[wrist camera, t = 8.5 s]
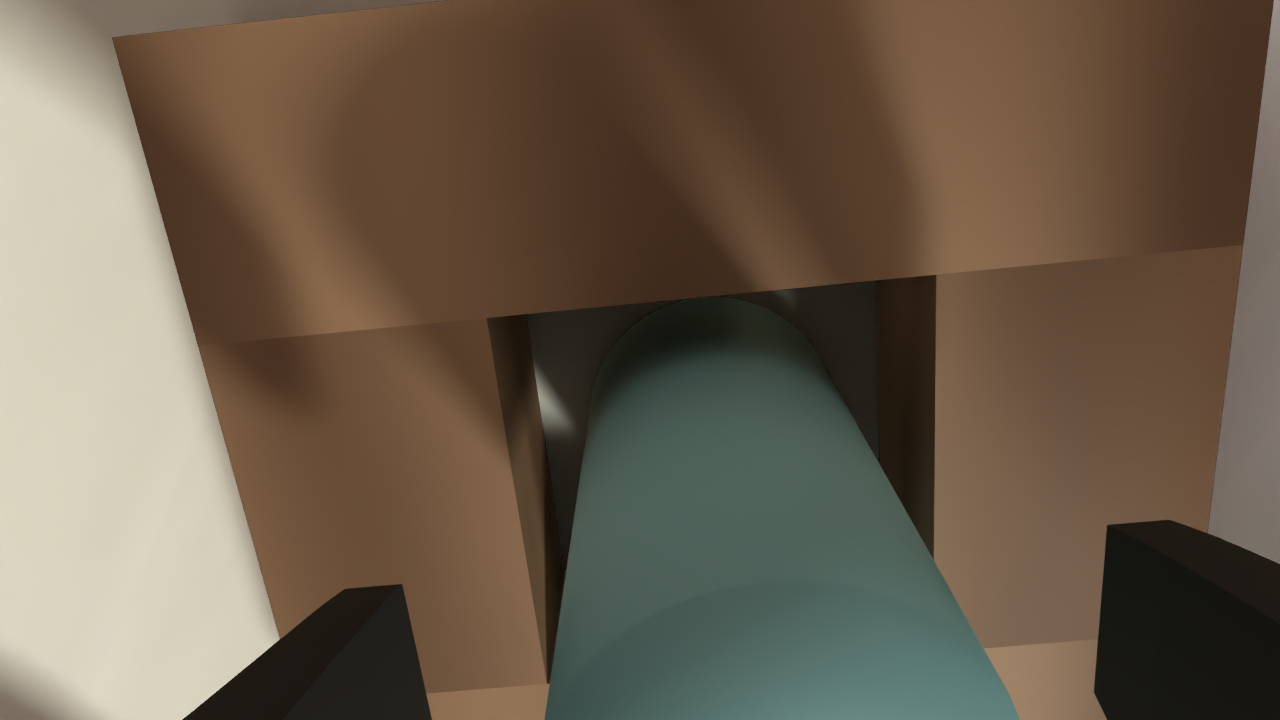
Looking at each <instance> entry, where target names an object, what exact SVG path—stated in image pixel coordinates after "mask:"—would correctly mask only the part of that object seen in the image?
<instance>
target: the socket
mask: <svg viewBox="0 0 1280 720" xmlns="http://www.w3.org/2000/svg"><path fill="white" fill-rule="evenodd" d="M1273 1H1274V0H447V1H438V2H429V3H420V4H411V5H401V6H392V7H383V8H374V9H365V10H356V11H347V12H338V13H329V14H320V15H311V16H302V17H293V18H283V19H274V20H265V21H256V22H247V23H238V24H229V25H220V26H211V27H202V28H193V29H184V30H174V31H165V32H156V33H147V34H138V35H129V36H120V37H112V40H113V43H114V47H115V50H116V54H117V58H118V61H119V65H120V68H121V72H122V75H123V79H124V83H125V86H126V90H127V93H128V97H129V100H130V104H131V108H132V111H133V115H134V118H135V122H136V126H137V129H138V133H139V136H140V140H141V143H142V147H143V151H144V154H145V158H146V161H147V165H148V168H149V172H150V176H151V179H152V183H153V186H154V190H155V193H156V197H157V201H158V204H159V208H160V211H161V215H162V218H163V222H164V226H165V229H166V233H167V236H168V240H169V243H170V247H171V251H172V254H173V258H174V261H175V265H176V269H177V272H178V276H179V279H180V283H181V286H182V290H183V294H184V297H185V301H186V304H187V308H188V311H189V315H190V319H191V322H192V326H193V329H194V333H195V336H196V340H197V344H198V347H199V351H200V354H201V358H202V361H203V365H204V369H205V372H206V376H207V379H208V383H209V386H210V390H211V394H212V397H213V401H214V404H215V408H216V411H217V415H218V419H219V422H220V426H221V429H222V433H223V437H224V440H225V444H226V447H227V451H228V454H229V458H230V462H231V465H232V469H233V472H234V476H235V479H236V483H237V487H238V490H239V494H240V497H241V501H242V504H243V508H244V512H245V515H246V519H247V522H248V526H249V529H250V533H251V537H252V540H253V544H254V547H255V551H256V554H257V558H258V562H259V565H260V569H261V572H262V576H263V580H264V583H265V587H266V590H267V594H268V597H269V601H270V605H271V608H272V612H273V615H274V619H275V622H276V626H277V630H278V633H279V637H280V639H281V638H282V637H284V636H285V635H286V634H287V633H289V632H290V631H291V630H292V629H293V628H295V627H296V626H297V625H298V624H299V623H301V622H302V621H303V620H304V619H306V618H307V617H308V616H309V615H310V614H312V613H313V612H314V611H316V610H317V609H318V608H319V607H321V606H322V605H323V604H324V603H326V602H327V601H328V600H330V599H331V598H333V597H334V596H335V595H337V594H338V593H340V592H341V591H342V590H344V589H348V588H360V587H371V586H383V585H395V584H402V585H403V590H404V594H405V599H406V603H407V608H408V612H409V617H410V622H411V626H412V631H413V635H414V640H415V644H416V649H417V653H418V658H419V663H420V667H421V672H422V676H423V681H424V685H425V690H426V695H427V699H428V704H429V708H430V713H431V717H432V720H544V719H545V713H546V706H547V699H548V692H549V685H550V678H551V672H552V665H553V658H554V651H555V644H556V637H557V631H558V624H559V617H560V610H561V603H562V596H563V590H564V583H565V576H566V570H564V566H563V560H562V553H561V546H560V540H559V533H558V526H557V519H556V513H555V506H554V499H553V493H552V486H551V479H550V473H549V466H548V459H547V453H546V446H545V439H544V433H543V426H542V419H541V413H540V406H539V399H538V392H537V386H536V379H535V372H534V366H533V359H532V352H531V346H530V339H529V332H528V326H527V319H526V314H533V313H543V312H554V311H564V310H574V309H585V308H595V307H605V306H616V305H626V304H637V303H647V302H657V301H668V300H678V299H688V298H699V297H709V296H719V295H730V294H740V293H750V292H761V291H771V290H781V289H792V288H802V287H812V286H823V285H833V284H844V283H854V282H864V281H875V280H877V302H878V376H879V450H880V466H881V468H882V469H883V471H884V473H885V475H886V476H887V478H888V480H889V482H890V484H891V485H892V487H893V489H894V491H895V492H896V494H897V496H898V498H899V499H900V501H901V503H902V505H903V507H904V508H905V510H906V512H907V514H908V515H909V517H910V519H911V521H912V523H913V524H914V526H915V528H916V530H917V531H918V533H919V535H920V537H921V538H922V540H923V542H924V544H925V546H926V547H927V549H928V551H929V553H930V554H931V556H932V558H933V560H934V561H935V563H936V565H937V567H938V569H939V570H940V572H941V574H942V576H943V577H944V579H945V581H946V583H947V585H948V586H949V588H950V590H951V592H952V593H953V595H954V597H955V599H956V600H957V602H958V604H959V606H960V608H961V609H962V611H963V613H964V615H965V616H966V618H967V620H968V622H969V623H970V625H971V627H972V629H973V631H974V632H975V634H976V636H977V638H978V639H979V641H980V643H981V645H982V647H983V648H984V650H985V652H986V654H987V655H988V657H989V659H990V661H991V662H992V664H993V666H994V668H995V670H996V671H997V673H998V675H999V677H1000V678H1001V680H1002V682H1003V684H1004V685H1005V687H1006V689H1007V691H1008V693H1009V695H1010V697H1011V699H1012V702H1013V704H1014V707H1015V709H1016V712H1017V714H1018V716H1019V719H1020V720H1107V719H1106V716H1105V714H1104V712H1103V710H1102V708H1101V706H1100V704H1099V702H1098V700H1097V698H1096V696H1095V694H1094V683H1095V670H1096V658H1097V645H1098V633H1099V620H1100V608H1101V595H1102V583H1103V570H1104V558H1105V545H1106V533H1107V525H1111V524H1123V523H1135V522H1147V521H1159V520H1172V521H1175V522H1178V523H1181V524H1184V525H1186V526H1189V527H1192V528H1195V529H1197V530H1200V531H1203V532H1205V533H1207V532H1208V524H1209V516H1210V508H1211V500H1212V492H1213V484H1214V475H1215V467H1216V459H1217V451H1218V443H1219V435H1220V427H1221V419H1222V411H1223V403H1224V395H1225V387H1226V379H1227V371H1228V363H1229V355H1230V347H1231V339H1232V331H1233V323H1234V315H1235V307H1236V299H1237V291H1238V283H1239V275H1240V267H1241V259H1242V250H1243V242H1244V234H1245V226H1246V218H1247V210H1248V202H1249V194H1250V186H1251V178H1252V170H1253V162H1254V154H1255V146H1256V138H1257V130H1258V122H1259V114H1260V106H1261V98H1262V90H1263V82H1264V74H1265V66H1266V58H1267V50H1268V42H1269V34H1270V25H1271V17H1272V9H1273Z"/></svg>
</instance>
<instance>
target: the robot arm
mask: <svg viewBox="0 0 1280 720" xmlns="http://www.w3.org/2000/svg"><path fill="white" fill-rule="evenodd" d="M1094 694H1095V696H1096V698H1097V700H1098V702H1099V704H1100V706H1101V708H1102V710H1103V712H1104V714H1105V716H1106V719H1107V720H1280V564H1278V563H1276V562H1273V561H1271V560H1269V559H1267V558H1264V557H1262V556H1260V555H1258V554H1255V553H1253V552H1251V551H1248V550H1246V549H1244V548H1241V547H1239V546H1237V545H1234V544H1232V543H1230V542H1227V541H1225V540H1223V539H1220V538H1218V537H1215V536H1213V535H1210V534H1208V533H1205V532H1203V531H1200V530H1197V529H1195V528H1192V527H1189V526H1186V525H1184V524H1181V523H1178V522H1175V521H1172V520H1159V521H1147V522H1135V523H1123V524H1111V525H1107V533H1106V545H1105V558H1104V570H1103V583H1102V595H1101V608H1100V620H1099V633H1098V645H1097V658H1096V670H1095V683H1094ZM183 720H432V717H431V713H430V708H429V704H428V699H427V695H426V690H425V685H424V681H423V676H422V672H421V667H420V663H419V658H418V653H417V649H416V644H415V640H414V635H413V631H412V626H411V622H410V617H409V612H408V608H407V603H406V599H405V594H404V590H403V585H402V584H395V585H383V586H371V587H360V588H348V589H344V590H342V591H341V592H340V593H338V594H337V595H335V596H334V597H333V598H331V599H330V600H328V601H327V602H326V603H324V604H323V605H322V606H321V607H319V608H318V609H317V610H316V611H314V612H313V613H312V614H310V615H309V616H308V617H307V618H306V619H304V620H303V621H302V622H301V623H299V624H298V625H297V626H296V627H295V628H293V629H292V630H291V631H290V632H289V633H287V634H286V635H285V636H284V637H282V638H281V639H280V640H279V641H278V642H276V643H275V644H274V645H273V646H272V647H270V648H269V649H268V650H267V651H266V652H264V653H263V654H262V655H261V656H260V657H258V658H257V659H256V660H255V661H254V662H252V663H251V664H250V665H249V666H248V667H246V668H245V669H244V670H243V671H241V672H240V673H239V674H238V675H237V676H235V677H234V678H233V679H232V680H230V681H229V682H228V683H227V684H226V685H224V686H223V687H222V688H221V689H220V690H218V691H217V692H216V693H215V694H213V695H212V696H211V697H210V698H209V699H207V700H206V701H205V702H204V703H202V704H201V705H200V706H199V707H198V708H196V709H195V710H194V711H193V712H191V713H190V714H189V715H188V716H186V717H185V718H184V719H183Z"/></svg>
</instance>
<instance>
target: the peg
mask: <svg viewBox="0 0 1280 720" xmlns="http://www.w3.org/2000/svg"><path fill="white" fill-rule="evenodd" d="M544 720H1020V719H1019V716H1018V714H1017V712H1016V709H1015V707H1014V704H1013V702H1012V699H1011V697H1010V695H1009V693H1008V691H1007V689H1006V687H1005V685H1004V684H1003V682H1002V680H1001V678H1000V677H999V675H998V673H997V671H996V670H995V668H994V666H993V664H992V662H991V661H990V659H989V657H988V655H987V654H986V652H985V650H984V648H983V647H982V645H981V643H980V641H979V639H978V638H977V636H976V634H975V632H974V631H973V629H972V627H971V625H970V623H969V622H968V620H967V618H966V616H965V615H964V613H963V611H962V609H961V608H960V606H959V604H958V602H957V600H956V599H955V597H954V595H953V593H952V592H951V590H950V588H949V586H948V585H947V583H946V581H945V579H944V577H943V576H942V574H941V572H940V570H939V569H938V567H937V565H936V563H935V561H934V560H933V558H932V556H931V554H930V553H929V551H928V549H927V547H926V546H925V544H924V542H923V540H922V538H921V537H920V535H919V533H918V531H917V530H916V528H915V526H914V524H913V523H912V521H911V519H910V517H909V515H908V514H907V512H906V510H905V508H904V507H903V505H902V503H901V501H900V499H899V498H898V496H897V494H896V492H895V491H894V489H893V487H892V485H891V484H890V482H889V480H888V478H887V476H886V475H885V473H884V471H883V469H882V468H881V466H880V464H879V462H878V461H877V459H876V457H875V455H874V453H873V452H872V450H871V448H870V446H869V445H868V443H867V441H866V439H865V437H864V436H863V434H862V432H861V430H860V429H859V427H858V425H857V423H856V422H855V420H854V418H853V416H852V414H851V413H850V411H849V409H848V407H847V406H846V404H845V402H844V400H843V399H842V397H841V395H840V393H839V391H838V390H837V388H836V386H835V384H834V383H833V381H832V379H831V377H830V375H829V374H828V372H827V370H826V368H825V367H824V365H823V363H822V361H821V360H820V358H819V356H818V355H817V353H816V351H815V350H814V348H813V346H812V345H811V344H810V342H809V341H808V340H807V339H806V338H805V336H804V335H803V334H802V333H801V332H800V331H799V330H798V329H797V328H796V327H794V326H793V325H792V324H791V323H790V322H788V321H787V320H786V319H784V318H783V317H781V316H780V315H778V314H777V313H775V312H773V311H771V310H769V309H767V308H765V307H762V306H760V305H757V304H754V303H751V302H748V301H743V300H738V299H734V298H723V297H704V298H695V299H689V300H684V301H680V302H677V303H674V304H671V305H667V306H665V307H663V308H661V309H659V310H656V311H654V312H652V313H651V314H649V315H647V316H646V317H644V318H643V319H641V320H639V321H638V322H637V323H636V324H634V325H633V326H632V327H631V328H629V329H628V330H627V331H626V332H625V333H624V334H623V335H622V336H621V337H620V338H619V339H618V340H617V342H616V343H615V344H614V346H613V347H612V348H611V350H610V351H609V353H608V354H607V356H606V357H605V359H604V361H603V363H602V365H601V367H600V369H599V372H598V375H597V377H596V380H595V383H594V388H593V393H592V398H591V405H590V412H589V419H588V426H587V432H586V439H585V446H584V453H583V460H582V467H581V473H580V480H579V487H578V494H577V501H576V508H575V514H574V521H573V528H572V535H571V542H570V549H569V555H568V562H567V569H566V576H565V583H564V590H563V596H562V603H561V610H560V617H559V624H558V631H557V637H556V644H555V651H554V658H553V665H552V672H551V678H550V685H549V692H548V699H547V706H546V713H545V719H544Z"/></svg>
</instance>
